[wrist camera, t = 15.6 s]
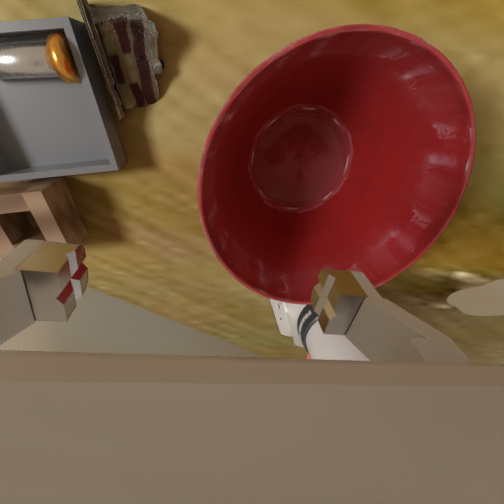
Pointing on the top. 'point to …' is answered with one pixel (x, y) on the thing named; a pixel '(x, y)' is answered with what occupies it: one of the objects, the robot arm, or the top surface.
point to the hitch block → (38, 213)
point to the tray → (56, 112)
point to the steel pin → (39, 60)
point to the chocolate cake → (125, 53)
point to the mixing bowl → (336, 160)
